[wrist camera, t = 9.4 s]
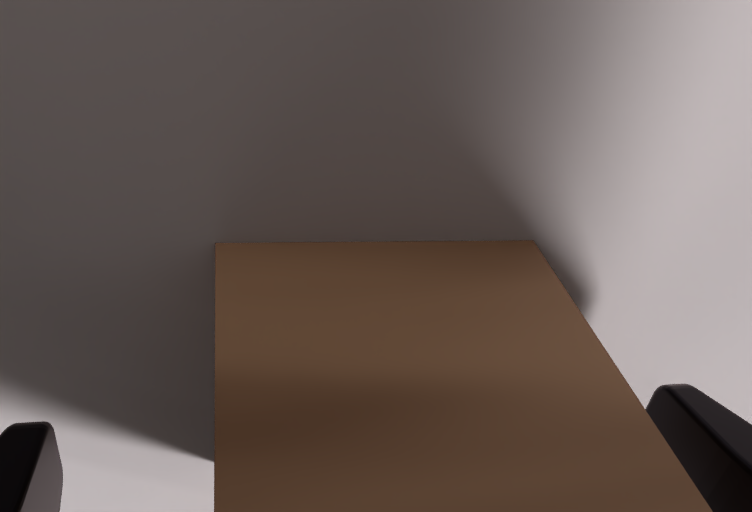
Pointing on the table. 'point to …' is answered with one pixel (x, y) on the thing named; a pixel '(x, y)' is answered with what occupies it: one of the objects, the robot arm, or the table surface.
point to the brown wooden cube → (422, 386)
